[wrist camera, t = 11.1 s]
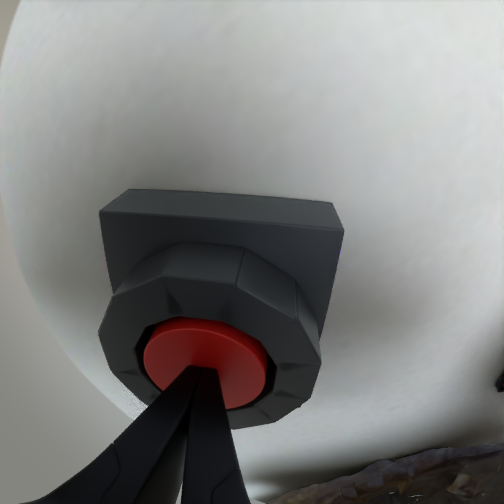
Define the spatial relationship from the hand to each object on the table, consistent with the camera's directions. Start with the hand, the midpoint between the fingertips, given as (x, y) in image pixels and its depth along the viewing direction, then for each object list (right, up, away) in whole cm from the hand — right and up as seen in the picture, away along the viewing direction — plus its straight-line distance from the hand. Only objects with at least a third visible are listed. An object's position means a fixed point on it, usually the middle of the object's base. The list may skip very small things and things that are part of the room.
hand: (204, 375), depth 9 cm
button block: (0, +2, +4) cm, 4 cm away
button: (0, +1, +2) cm, 2 cm away
